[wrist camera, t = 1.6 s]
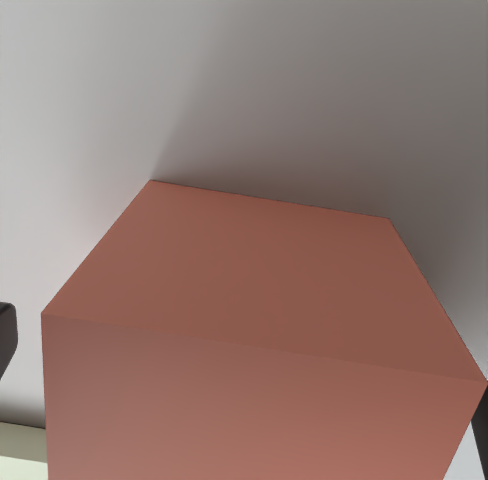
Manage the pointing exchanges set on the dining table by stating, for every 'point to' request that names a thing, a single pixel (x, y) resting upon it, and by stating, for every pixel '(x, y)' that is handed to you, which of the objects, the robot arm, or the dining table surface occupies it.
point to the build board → (22, 453)
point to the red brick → (251, 349)
